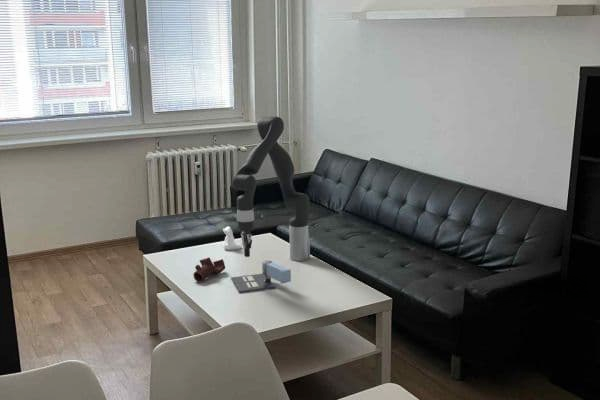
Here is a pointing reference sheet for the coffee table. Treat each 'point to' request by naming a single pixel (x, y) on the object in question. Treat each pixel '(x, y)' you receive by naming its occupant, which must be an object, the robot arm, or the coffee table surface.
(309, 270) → the coffee table surface
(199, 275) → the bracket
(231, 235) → the sitting furry creature
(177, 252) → the coffee table surface
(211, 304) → the coffee table surface
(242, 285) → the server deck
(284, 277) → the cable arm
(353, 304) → the coffee table surface
